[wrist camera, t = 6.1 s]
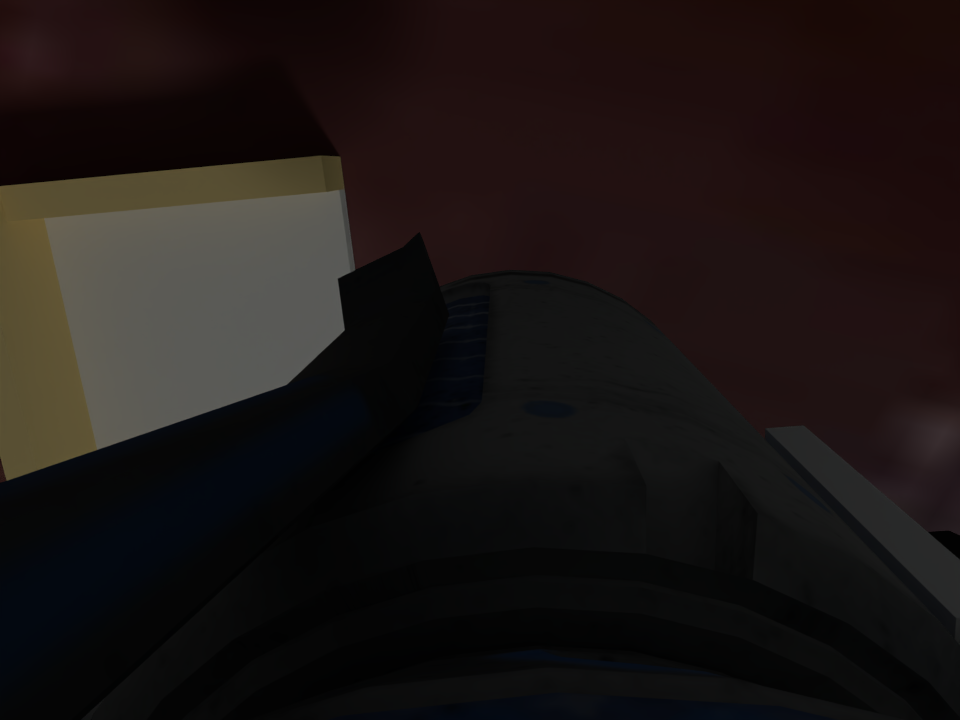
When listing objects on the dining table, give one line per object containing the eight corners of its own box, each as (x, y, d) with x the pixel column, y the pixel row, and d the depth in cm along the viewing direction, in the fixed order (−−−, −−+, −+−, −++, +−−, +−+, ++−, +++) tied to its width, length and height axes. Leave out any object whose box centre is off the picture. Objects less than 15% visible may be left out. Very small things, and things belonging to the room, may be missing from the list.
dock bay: (20, 187, 36) (-70, 191, 31) (340, 156, 36) (310, 154, 30) (108, 562, 41) (45, 627, 35) (390, 541, 41) (373, 604, 35)
